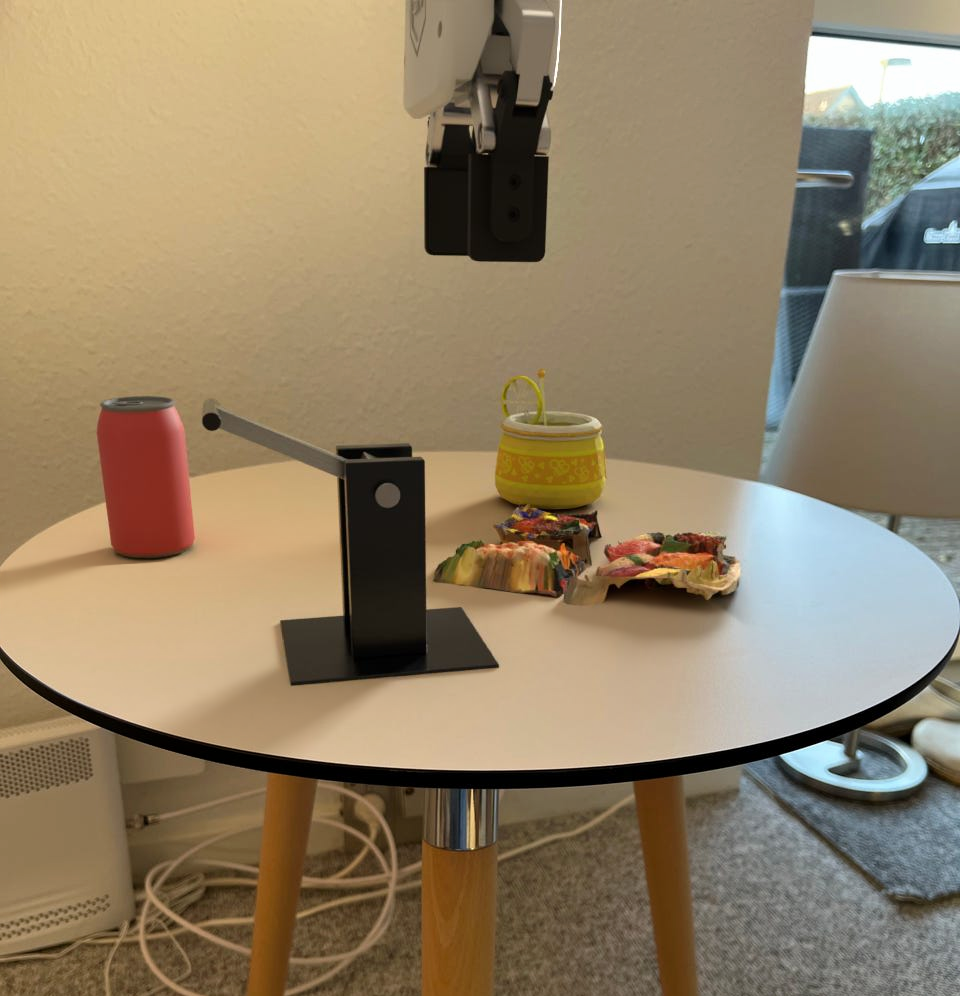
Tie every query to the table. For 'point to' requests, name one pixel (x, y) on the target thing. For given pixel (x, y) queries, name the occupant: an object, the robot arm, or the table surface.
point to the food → (587, 559)
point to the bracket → (382, 584)
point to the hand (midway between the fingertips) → (479, 258)
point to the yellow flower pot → (548, 454)
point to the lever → (272, 438)
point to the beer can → (145, 476)
